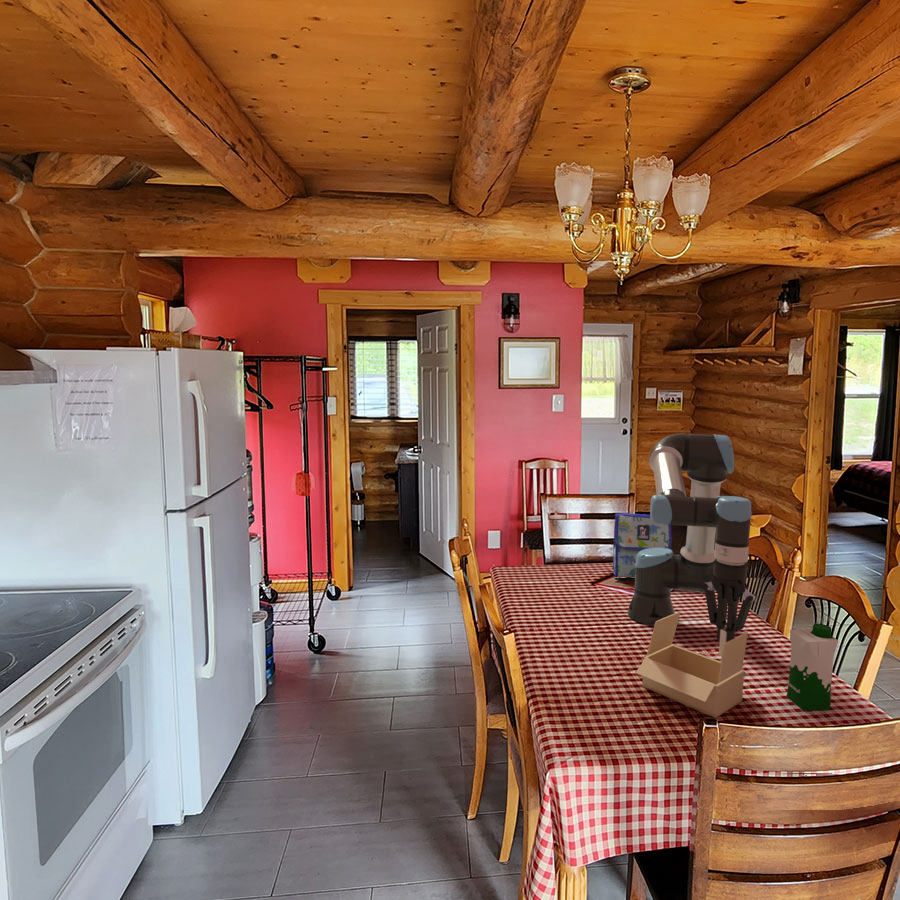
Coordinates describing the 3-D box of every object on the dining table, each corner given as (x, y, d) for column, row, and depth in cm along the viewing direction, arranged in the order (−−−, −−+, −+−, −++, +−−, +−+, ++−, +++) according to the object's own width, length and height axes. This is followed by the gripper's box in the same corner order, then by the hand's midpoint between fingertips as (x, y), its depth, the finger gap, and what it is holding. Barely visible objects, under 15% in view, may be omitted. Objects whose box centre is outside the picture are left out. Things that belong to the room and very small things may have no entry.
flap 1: (646, 654, 170) (655, 621, 167) (670, 643, 177) (679, 611, 175) (647, 655, 170) (656, 621, 167) (671, 644, 177) (680, 612, 174)
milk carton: (836, 711, 159) (843, 633, 157) (801, 713, 158) (807, 634, 156) (813, 694, 168) (819, 619, 165) (780, 695, 167) (785, 620, 164)
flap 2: (717, 682, 155) (723, 643, 153) (741, 669, 162) (746, 631, 161) (719, 683, 155) (724, 644, 153) (742, 669, 162) (747, 632, 160)
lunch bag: (613, 581, 258) (616, 517, 255) (610, 569, 274) (613, 508, 271) (672, 585, 254) (675, 519, 251) (665, 572, 271) (668, 511, 268)
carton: (632, 691, 168) (634, 661, 167) (678, 668, 182) (680, 640, 181) (706, 724, 153) (708, 691, 152) (750, 695, 166) (752, 665, 165)
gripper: (697, 557, 159) (691, 649, 162) (749, 570, 149) (742, 668, 152) (713, 552, 164) (707, 642, 167) (764, 564, 154) (757, 659, 157)
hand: (724, 654), depth 159 cm, fingers closed
